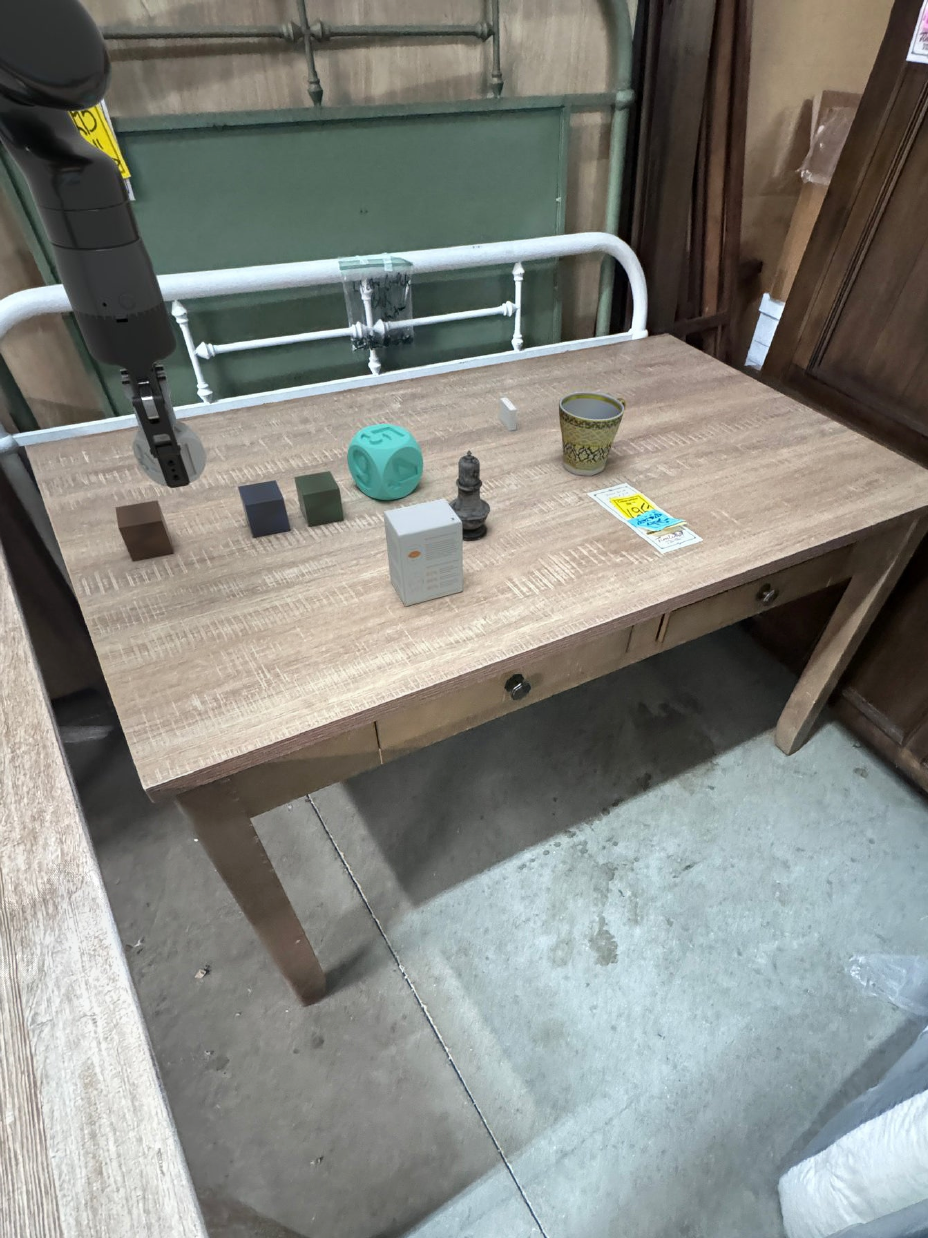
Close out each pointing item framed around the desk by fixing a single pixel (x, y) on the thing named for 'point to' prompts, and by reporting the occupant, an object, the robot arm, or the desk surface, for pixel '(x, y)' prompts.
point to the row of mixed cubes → (261, 508)
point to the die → (190, 452)
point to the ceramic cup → (588, 430)
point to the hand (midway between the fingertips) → (175, 467)
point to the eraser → (508, 414)
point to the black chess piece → (470, 499)
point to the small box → (424, 551)
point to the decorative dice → (385, 461)
